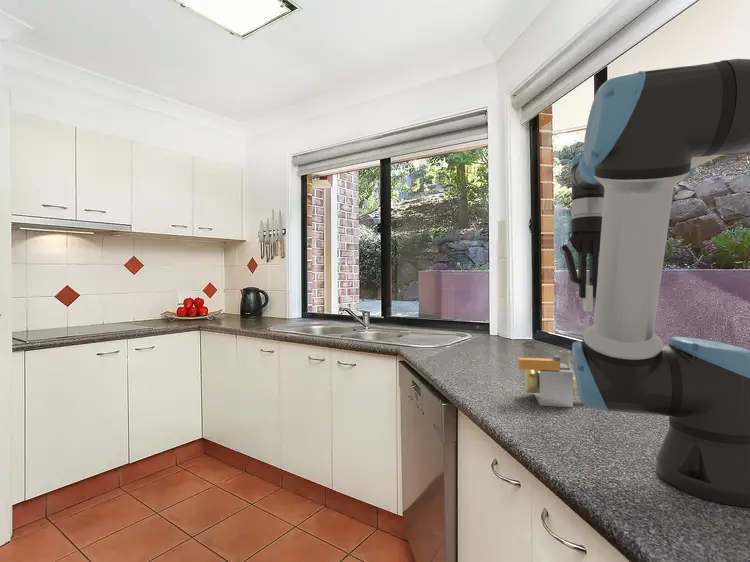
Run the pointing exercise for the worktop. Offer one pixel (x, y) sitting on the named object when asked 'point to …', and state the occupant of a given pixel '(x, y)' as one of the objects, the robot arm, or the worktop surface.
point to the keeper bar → (540, 363)
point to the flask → (565, 359)
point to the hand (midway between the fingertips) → (587, 311)
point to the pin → (536, 381)
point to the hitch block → (555, 387)
